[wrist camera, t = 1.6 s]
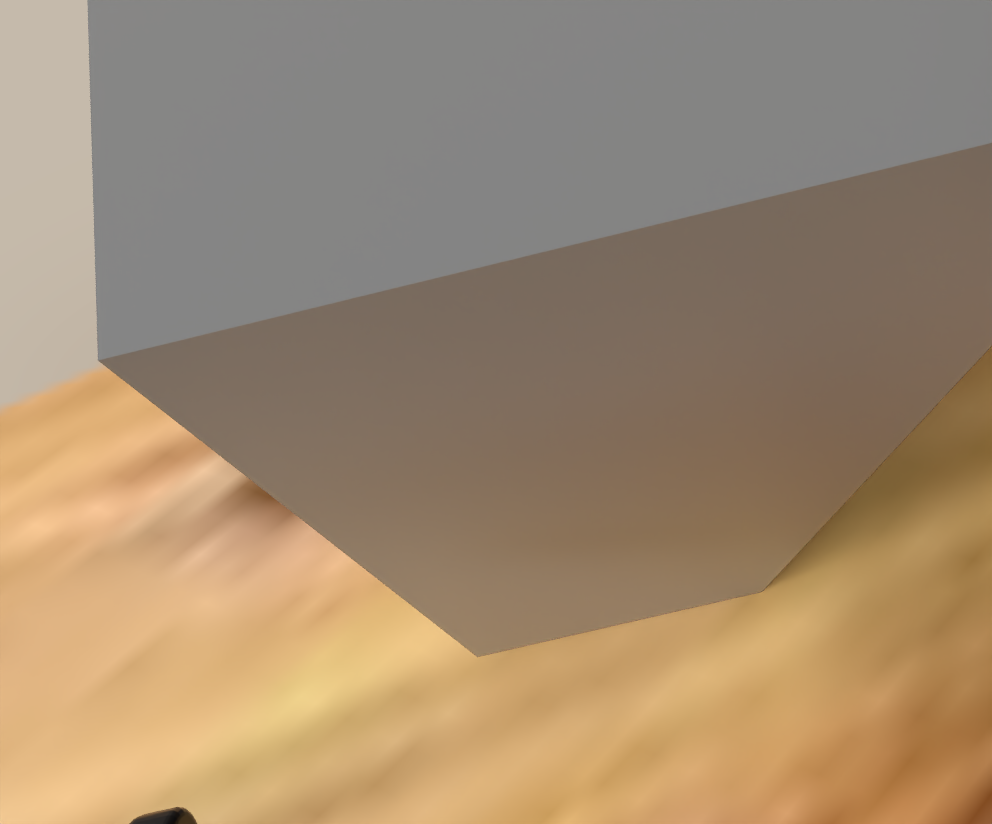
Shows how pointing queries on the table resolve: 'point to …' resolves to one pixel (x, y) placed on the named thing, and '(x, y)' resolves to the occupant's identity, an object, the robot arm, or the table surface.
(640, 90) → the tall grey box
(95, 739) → the table surface
